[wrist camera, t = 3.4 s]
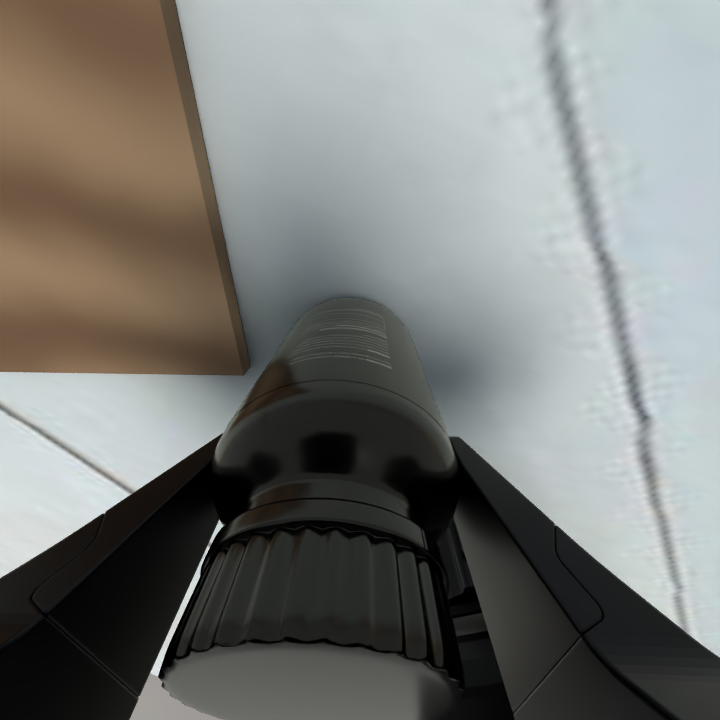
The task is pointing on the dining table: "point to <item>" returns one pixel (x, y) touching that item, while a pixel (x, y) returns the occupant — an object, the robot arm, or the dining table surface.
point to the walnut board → (107, 198)
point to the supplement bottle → (328, 538)
